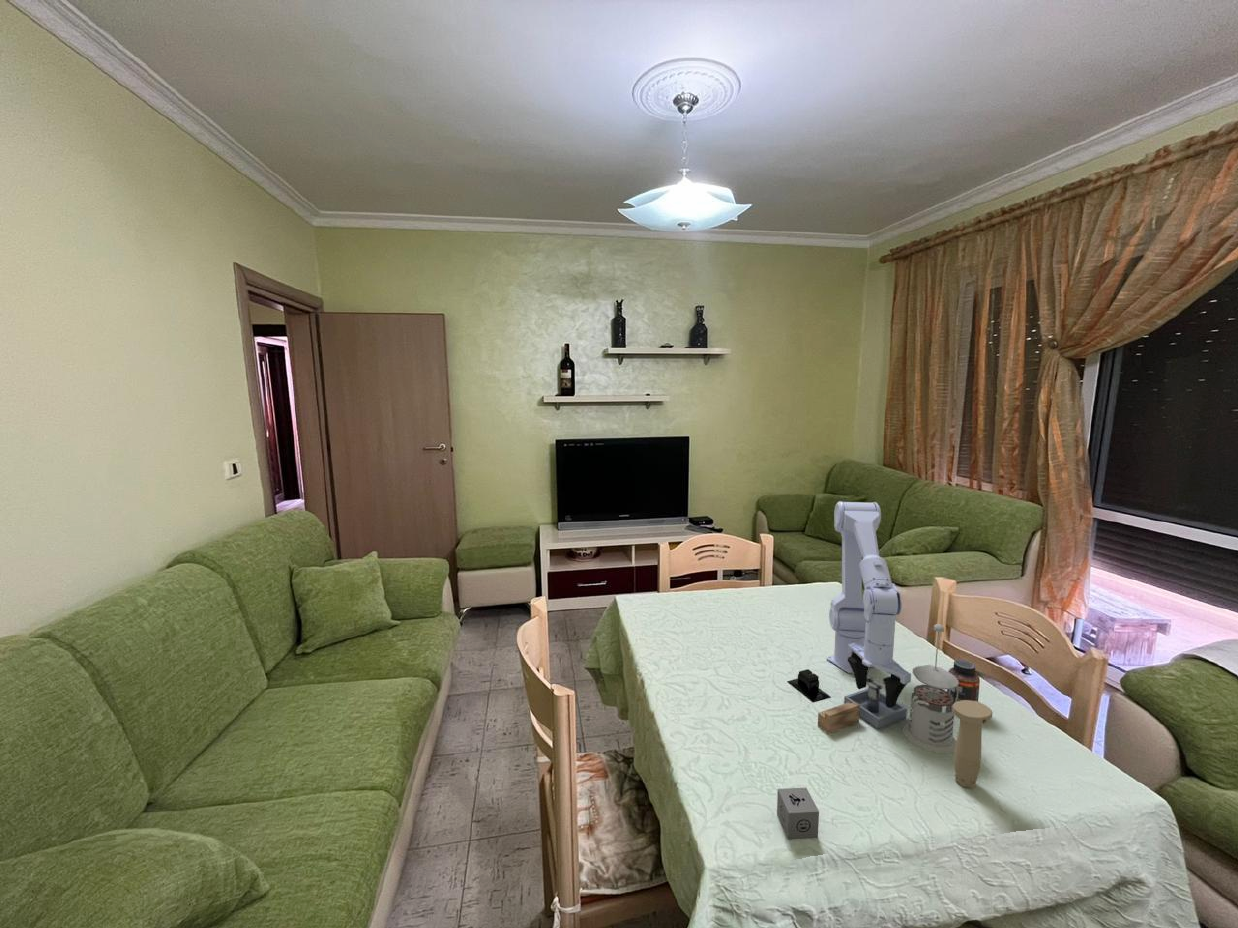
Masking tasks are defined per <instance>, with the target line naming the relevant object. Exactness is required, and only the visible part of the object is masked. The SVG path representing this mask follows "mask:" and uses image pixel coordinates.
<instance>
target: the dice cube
mask: <svg viewBox="0 0 1238 928" xmlns="http://www.w3.org/2000/svg"><path fill="white" fill-rule="evenodd" d="M776 799H777V800H776V801H777V802H776V806H777V807H776V815H777V817H778V821H779V824H780V825H781V828H782V831H783V832H784V834H785V837H786V840H787V841H793V840H794V841H795V840H796V841H797V840H811V839H812V840H814V839H815V840H816V839H819V825H820V824H819V821H820V818H819V817H820V810H819V809H818V806H817V805H816V803H815V801H814V799H813V797H812V795H811V793H810V792H809V789H808V788H807V787H788V788H777V797H776Z"/></svg>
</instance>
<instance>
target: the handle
mask: <svg viewBox="0 0 1238 928" xmlns="http://www.w3.org/2000/svg"><path fill="white" fill-rule="evenodd" d="M952 712H953V714H954V717H956V718H957V719H959V724H958V731H957V737H956V741H957V742H956V748H955V751H954V759H953V760H954V773H955V774H954V780H955V782H956V783H957V784H959V785H960V786H961V787H963V788H969V789H974V788H975V787H976V783H977V779H978V777H979V774H980V769H981V762H982V730H983V726H985V725H986V724H988V723H989V722H990V721H991V719H992V718H993V710H992V709H991V707H988V706H987V705H986V704H984V703H982V702H980V701H978V702H977V701H971V700H962V701H957V702H955V703H954V704H953V705H952Z"/></svg>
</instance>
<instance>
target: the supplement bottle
mask: <svg viewBox="0 0 1238 928" xmlns="http://www.w3.org/2000/svg"><path fill="white" fill-rule="evenodd" d="M948 672H949V673H951V674H952V675H954V676H955V677H956V678H957V680H958V688H959V691H958V699H957V701H962V700H971V701H977V702H979V697H980V696H979V695H980V694H979V693H980V683H981V681H980V677H979V675H978V673H976V664H974V663H973V662H971V661H969V660H967V659H958V658H957V659H954V661H953V666H952V667H951V668H949V670H948ZM946 692H948V693H949V689H948V690H946ZM950 694H951V695H952V697H953V698H954V702H953V703H955V700H956V697H957V686H956V687H955V688H954V689H951V691H950Z"/></svg>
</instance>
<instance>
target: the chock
mask: <svg viewBox="0 0 1238 928" xmlns="http://www.w3.org/2000/svg"><path fill="white" fill-rule="evenodd" d="M859 715H860V704H858V703H857V702H854V703H851V704H850V703H849V702H848V703H845V704H844V703H843V704H842V703H841V704H840V705H837V706H834V707H832V708H829V709H826V710H822V711H819V712H818V713H817V727H819V728H820V729H821V730H823V731H824V732H825V733H826V734H828V735H829V734H832V733H834V732H838V731H840V730H843V729H845V728H848V727H851V726H853V725H857V724H858V723H860V717H859Z"/></svg>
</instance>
